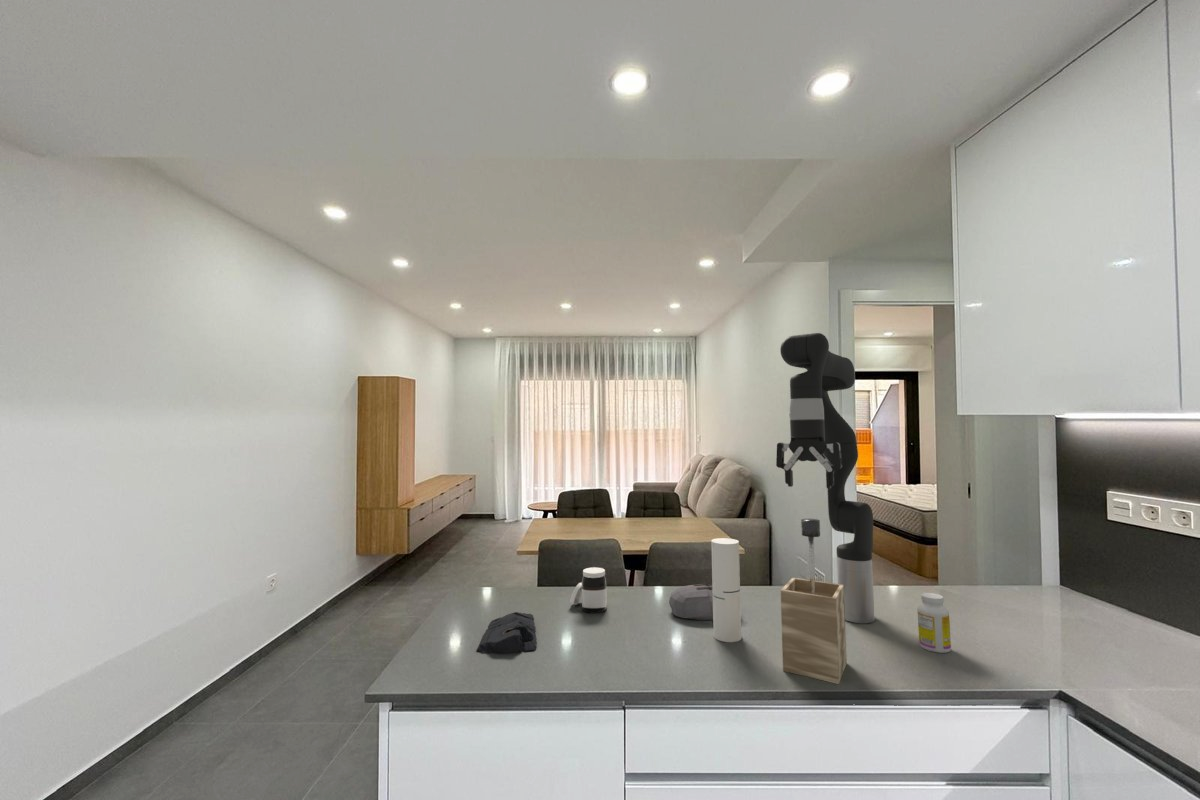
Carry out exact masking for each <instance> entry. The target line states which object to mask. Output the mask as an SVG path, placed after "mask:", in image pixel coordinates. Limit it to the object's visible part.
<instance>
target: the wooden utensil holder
mask: <svg viewBox="0 0 1200 800" xmlns="http://www.w3.org/2000/svg"><path fill="white" fill-rule="evenodd" d="M815 590H816V595H815V594H810V579H805V578H798V577H791V578H790V580H789V581H788V582H787V583H786V584H785V585H784V586H783V587H782V588H781V589H780V610H781V611H780V612H781V616H780V617H781V642H782V643H781V644H782V650H781V652H782V671H783V672H787V673H791V674H796V675H798V676H799V675H800V676H804V677H808V678H811V679H816V680H820V681H825V682H828V683H831V684H837V685H839V684H840V682H841V679H842V676H843V673H844V672H845V668H846V666H847V663H848V662H847V660H848V659H847V639H846V638H847V637H846V634H847V633H846V620H845V604H844V585H841V584H838V583H832V582H827V581H820V580H815Z"/></svg>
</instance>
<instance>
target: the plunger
mask: <svg viewBox="0 0 1200 800" xmlns="http://www.w3.org/2000/svg"><path fill="white" fill-rule="evenodd" d="M800 520H801V522H800V523H801V526H800V528H801V536H803V537H807V542H808V544H807V545H808V546H807V547H808V566H809V567H808V569H809V570H808V571H809V574H808V575H809V576H808V577H809V580H810V594H815V595H816V590H815V581H816V568H815V567H816V565H815V538H819V537H820V536H821V523H820V522H821V521H820V519H816V518H801V519H800Z"/></svg>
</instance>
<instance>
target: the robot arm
mask: <svg viewBox="0 0 1200 800" xmlns="http://www.w3.org/2000/svg"><path fill="white" fill-rule="evenodd" d="M829 346H830V344H829V340H828V338H827V337H826V336H825V335H824V334H823V333H822V332H814V333H806V334H805V333H803V334H796V335H790V336H787V337H786V338H784V339H783V341H782V342H781V345H780V351H779V352H780V355H781V358H782V360H783V362H785V364H787V365H789V366H790V367H793V368H798V369H799V368H800V369H805V370H806V371H804V372H801V373H798V374H794V375H792V376H790V379H789V388H790V389H789V392H790V393H789V397H790V402H789V403H790V405H789V425H790V427H789V428H790V429H789V430H790V441H789V443H788V442H787V443H786V442H785V443H784V442H778V443H777V444H776V461H775V462H776V463H775V465H776V468H779V469H783V471H784V482H785V484H786V485H787V487H790V488H791V487H793V486H794V471H793V470H792V469H793V467H794V466H795V464H797V462H798V461H800V462H805V461H807V462H808V461H809V462H817V461H818V462H819V464H820V465H822V466H823V468H824V469H825V483H826V484H825V487H826V490H827V507H828V508H827V509H828V510H827V511H828V520H829V524H830V526H831V528H832V529H833V530H834V531H837V532H841V533H846V534H853V536H854V537H853V540H852V541H851V542H847V543H841V544H839V545H837V547H836V568H837V570H836V571H837V572H836V573H837V584H841V585H844V604H845V621H847V622H852V623H855V624H870V623H871V624H872V623H873V622H875V598H874V578H873V575H874V573H873V550H874V513H873V509H872V507H871V505H869V504H868V503H866V502H861V501H854V500H853V501H850V500H846V496H845V494H846V493H845V492H846V491H845V488H846V484H847V481H848V478H849V476H850V474H851V473H852V471H853V470H854V469H855V466H856V464H857V462H858V460H859V459H858V458H859V450H858V443H857V442H858V441H857V436H856V432H855V431H854V430H853V428H852V426H850V425H849V423H848V422H847V421H846V420H845V418H843V417H842V415H841V414H840V413H839V412H838V411H837V410H836V408H835V406H834V404H833V403H832V400H831V399H830V396H829V392H831V391H842V390H843V391H844V390H848V389H850V388H851V389H852V387H853V386H854V384H855V382H856V373H855V366H854V364H853V361H852V360H851V359H849V358H848V357H845V356H842V355H838V354H835V353H833V352H831V351H830V350H829V349H830V347H829ZM788 449H789V450H790V451H791V452H792V455H791V456H790V458H789V459H788V461H787V463H785V453H786V452H787V451H788Z"/></svg>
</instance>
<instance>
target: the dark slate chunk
mask: <svg viewBox="0 0 1200 800" xmlns="http://www.w3.org/2000/svg"><path fill="white" fill-rule="evenodd" d="M536 632H537V630H536V625H535V618H534V615H533V614H532V613H525V612H523V613H522V612H518V611H515V612H511V613H508V614H506V615H504V616H501V617H498V618H496V619H493V620H491V621H490V622H489V624H488V626H487V629H485V632H484V633H483V634H482V637H481V640H480V642H479V645H478V646H477V648H476V650H475V651H476V652H477V653H480V654H481V655H487V654H488V655H489V654H491V655H492V654H497V655H508V654H510V655H511V654H515V655H516V654H519V653H520V654H521V653H526V652H528V651H529V652H531V651H536V650H537V645H538V642H537V635H536Z"/></svg>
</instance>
